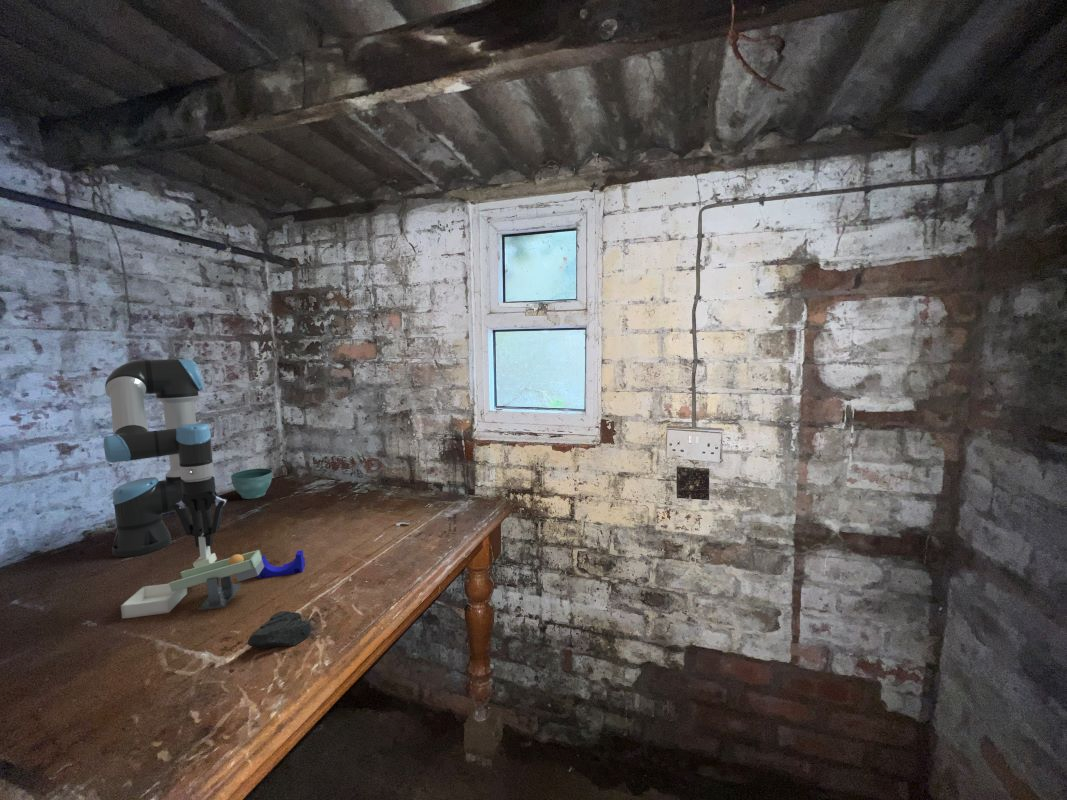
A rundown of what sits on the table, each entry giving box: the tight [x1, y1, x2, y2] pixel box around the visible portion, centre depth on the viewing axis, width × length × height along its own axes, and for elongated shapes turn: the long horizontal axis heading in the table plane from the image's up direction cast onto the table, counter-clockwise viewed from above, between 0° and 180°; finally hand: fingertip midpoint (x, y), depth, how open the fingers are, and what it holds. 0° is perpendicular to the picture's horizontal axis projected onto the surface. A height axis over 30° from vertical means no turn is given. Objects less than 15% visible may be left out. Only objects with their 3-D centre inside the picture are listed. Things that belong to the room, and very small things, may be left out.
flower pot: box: [230, 467, 273, 500], centre depth 199 cm, size 16×16×11 cm
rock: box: [247, 610, 312, 649], centre depth 102 cm, size 10×6×10 cm
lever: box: [168, 549, 264, 591], centre depth 123 cm, size 20×14×5 cm
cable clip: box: [257, 549, 306, 579], centre depth 133 cm, size 12×4×6 cm, turn 108°
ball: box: [229, 553, 244, 565], centre depth 119 cm, size 4×4×4 cm
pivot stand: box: [198, 575, 242, 611], centre depth 119 cm, size 6×11×8 cm, turn 14°
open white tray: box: [120, 583, 188, 620], centre depth 116 cm, size 10×9×4 cm
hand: (205, 556), depth 125 cm, fingers closed
